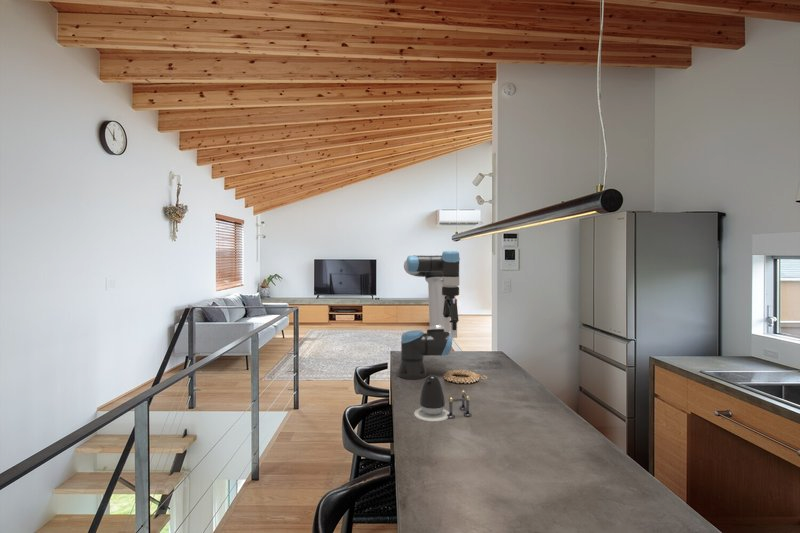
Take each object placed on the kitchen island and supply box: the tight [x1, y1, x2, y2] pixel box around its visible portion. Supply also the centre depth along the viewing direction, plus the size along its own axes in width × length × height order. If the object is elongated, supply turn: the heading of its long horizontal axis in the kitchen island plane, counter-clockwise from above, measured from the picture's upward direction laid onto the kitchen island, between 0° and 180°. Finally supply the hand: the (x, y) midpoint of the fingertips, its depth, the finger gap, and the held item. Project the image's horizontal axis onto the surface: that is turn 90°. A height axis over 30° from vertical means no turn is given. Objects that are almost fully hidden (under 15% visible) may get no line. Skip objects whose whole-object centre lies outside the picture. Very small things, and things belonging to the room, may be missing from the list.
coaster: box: [413, 407, 449, 423], centre depth 169 cm, size 14×14×1 cm
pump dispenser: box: [418, 374, 446, 415], centre depth 169 cm, size 10×10×15 cm
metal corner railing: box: [447, 390, 473, 419], centre depth 171 cm, size 11×10×8 cm
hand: (450, 334), depth 186 cm, fingers open, 13 cm apart
